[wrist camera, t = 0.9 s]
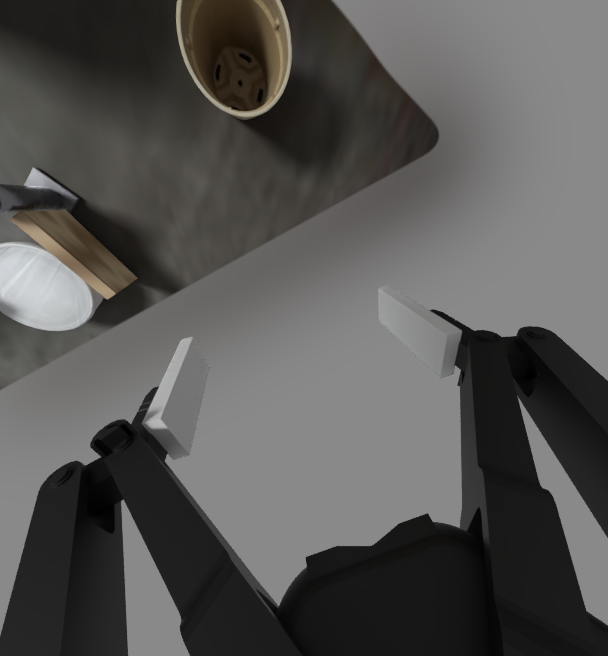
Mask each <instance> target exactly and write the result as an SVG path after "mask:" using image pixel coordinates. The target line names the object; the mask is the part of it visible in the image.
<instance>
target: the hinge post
mask: <svg viewBox="0 0 608 656" xmlns="http://www.w3.org/2000/svg"><path fill="white" fill-rule="evenodd" d="M80 199H81V198H80V197H78V196H77V195H75V194H74V193H72V192H71V191H70V190H68V189H67V188H65V187H64V186H62V185H61V184H60V183H58V182H57V181H55V180H54V179H53V178H51V177H50V176H48V175H47V174H45V173H44V172H43V171H41V170H40V169H38V168H35V167H33V169H32V171H31V173H30V175H29V177H28V178H27V180H26V182H25V184H24V186H20V185H4V184H0V212H20V211H45V210H66V211H67V212H68V213H69V214H71V215H72V213H73V211H74V210H75V208H76V206H77V204H78V203H79V201H80Z"/></svg>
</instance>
